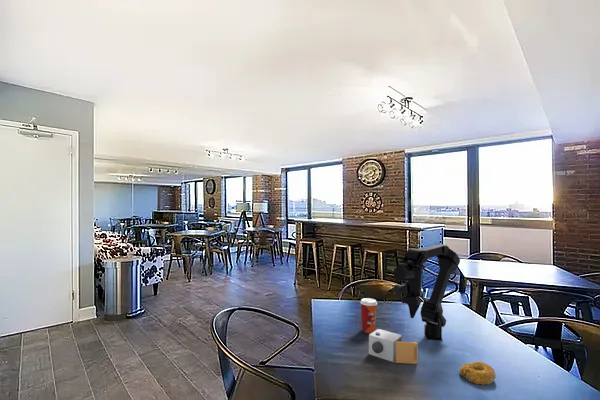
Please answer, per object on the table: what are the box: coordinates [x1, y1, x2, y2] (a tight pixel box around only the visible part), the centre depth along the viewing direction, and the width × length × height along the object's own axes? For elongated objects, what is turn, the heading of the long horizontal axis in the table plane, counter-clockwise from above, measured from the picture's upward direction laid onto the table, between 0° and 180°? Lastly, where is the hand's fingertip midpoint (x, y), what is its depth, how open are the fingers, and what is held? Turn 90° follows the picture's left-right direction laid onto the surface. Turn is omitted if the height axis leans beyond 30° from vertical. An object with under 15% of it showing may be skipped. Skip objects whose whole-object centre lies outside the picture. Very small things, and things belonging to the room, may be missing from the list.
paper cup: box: [359, 297, 378, 334], centre depth 154 cm, size 8×8×14 cm
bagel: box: [459, 361, 496, 386], centre depth 114 cm, size 10×11×5 cm
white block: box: [368, 328, 403, 363], centre depth 130 cm, size 9×10×8 cm
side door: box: [393, 341, 419, 365], centre depth 123 cm, size 8×1×8 cm, turn 86°
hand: (412, 317), depth 138 cm, fingers closed
